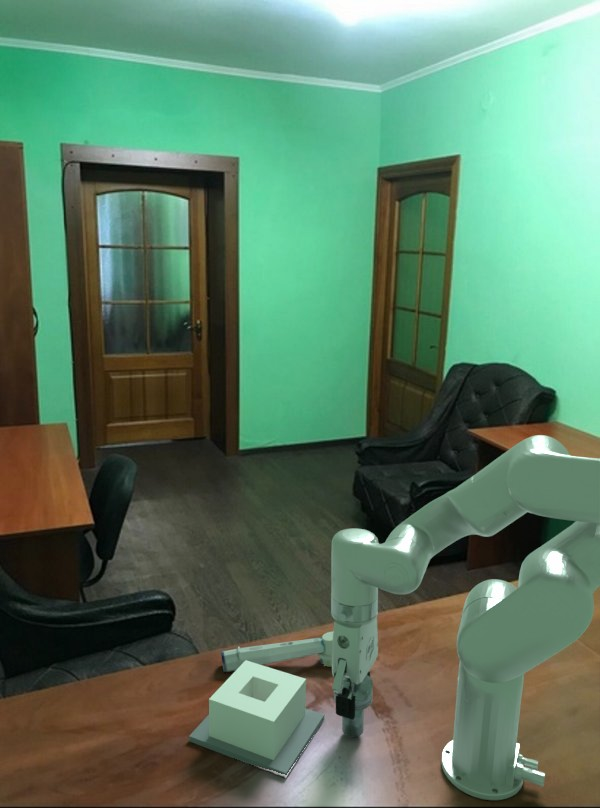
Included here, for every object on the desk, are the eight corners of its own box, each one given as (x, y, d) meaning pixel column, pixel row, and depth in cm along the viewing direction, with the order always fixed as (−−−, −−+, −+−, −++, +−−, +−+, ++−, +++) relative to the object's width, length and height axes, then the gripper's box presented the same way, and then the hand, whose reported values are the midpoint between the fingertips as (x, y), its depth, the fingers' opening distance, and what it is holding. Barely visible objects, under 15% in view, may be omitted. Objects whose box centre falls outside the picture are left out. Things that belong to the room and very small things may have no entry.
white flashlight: (220, 644, 130) (343, 621, 133) (225, 674, 132) (346, 650, 135) (221, 660, 125) (349, 635, 128) (226, 690, 127) (352, 665, 130)
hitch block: (324, 719, 115) (325, 679, 113) (286, 778, 102) (286, 733, 100) (235, 689, 122) (235, 651, 121) (189, 741, 109) (188, 698, 107)
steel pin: (376, 723, 112) (377, 676, 111) (364, 747, 107) (365, 698, 105) (342, 712, 115) (342, 666, 113) (328, 735, 109) (328, 688, 108)
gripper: (357, 637, 97) (356, 743, 101) (392, 586, 112) (390, 680, 116) (311, 626, 100) (311, 729, 104) (351, 578, 115) (350, 669, 119)
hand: (353, 702), depth 110 cm, fingers closed on steel pin, 6 cm apart
